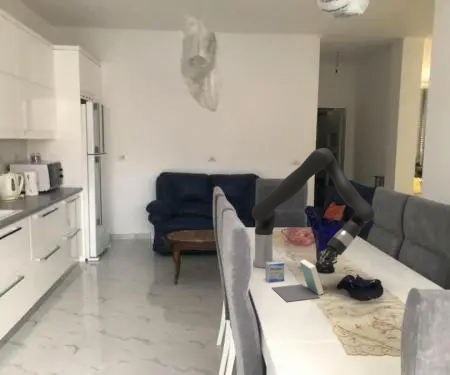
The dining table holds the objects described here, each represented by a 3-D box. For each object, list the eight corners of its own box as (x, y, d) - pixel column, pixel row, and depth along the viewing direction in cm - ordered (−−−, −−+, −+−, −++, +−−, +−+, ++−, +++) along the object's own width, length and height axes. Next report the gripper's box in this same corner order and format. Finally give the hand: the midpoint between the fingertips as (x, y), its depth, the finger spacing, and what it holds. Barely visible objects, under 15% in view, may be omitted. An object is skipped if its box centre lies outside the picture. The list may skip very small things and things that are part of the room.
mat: (271, 288, 184) (271, 287, 184) (302, 285, 188) (302, 284, 188) (286, 302, 168) (286, 301, 168) (319, 298, 172) (319, 297, 172)
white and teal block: (307, 287, 185) (299, 261, 182) (312, 284, 186) (304, 259, 183) (318, 295, 176) (310, 268, 173) (323, 292, 176) (315, 266, 173)
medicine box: (268, 282, 191) (268, 264, 190) (265, 279, 195) (265, 261, 194) (284, 281, 193) (284, 263, 192) (280, 277, 197) (280, 260, 196)
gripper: (327, 233, 187) (302, 261, 185) (343, 240, 174) (316, 270, 172) (337, 243, 189) (312, 271, 187) (354, 251, 176) (327, 281, 174)
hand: (314, 271), depth 180 cm, fingers closed
